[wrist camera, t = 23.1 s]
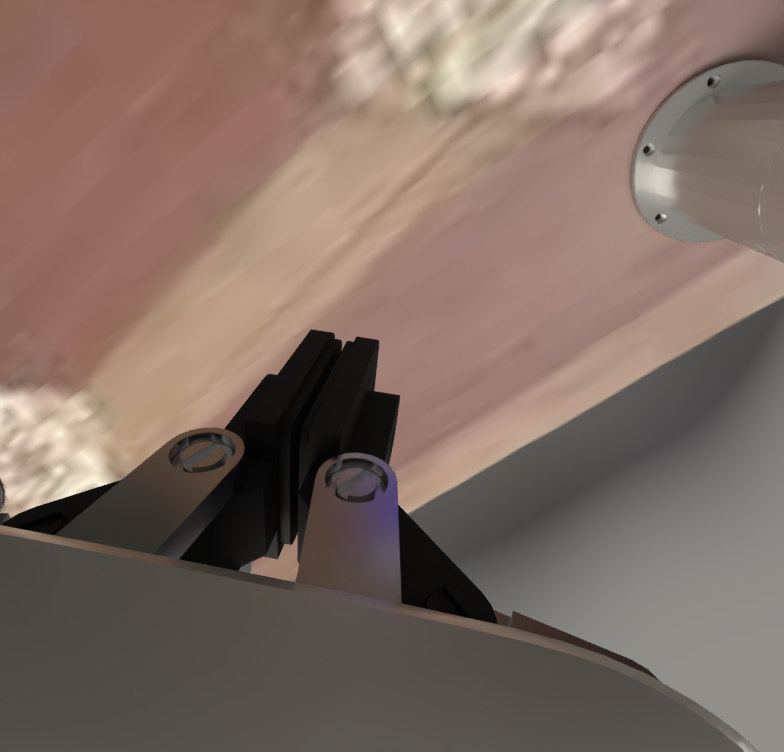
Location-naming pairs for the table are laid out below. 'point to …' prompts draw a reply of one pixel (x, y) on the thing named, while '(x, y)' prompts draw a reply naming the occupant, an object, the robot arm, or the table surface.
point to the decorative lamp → (1, 496)
